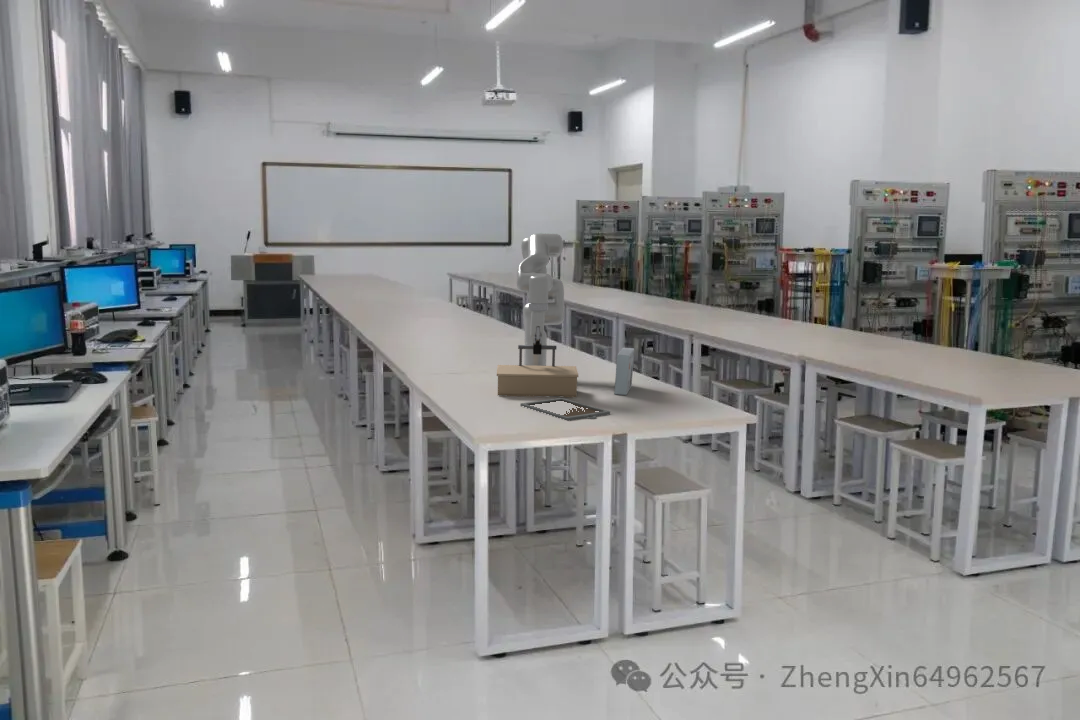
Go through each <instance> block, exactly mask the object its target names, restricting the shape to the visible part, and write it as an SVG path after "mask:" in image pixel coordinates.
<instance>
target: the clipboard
mask: <svg viewBox="0 0 1080 720" xmlns="http://www.w3.org/2000/svg"><path fill="white" fill-rule="evenodd" d="M556 401H564V402H567V403H571V404H573V405H575V406H578V407H580V408H581V407H583V408H584V410H585V412H584V410H583V411H582V409H580V408H577V407H576V408H577V411H576V409H574V408H572V410H573V412H572V410H570V409H569V410H570V413H569V412H568V413H569V414H568V413H567V411H566V414H567V415H566V414H564V415H560V414H556V413H553V412H550V411H547V410H543V409H540V408H537V407H534V406H530V405H535V404H542V403H550V402H556ZM522 406H524V407H523V408H525V407H527V408H526V409H528V408H530V409H529V410H531V409H533V410H532V411H534V410H536V411H535V412H538V411H539V412H538V413H541V412H543V413H542V414H544V413H546V414H545V415H547V414H549V415H548V416H550V415H552V416H551V417H554V416H555V417H554V418H557V417H558V418H557V419H560V418H561V420H563V419H564V421H567V422H569V420H570V421H575V420H576V419H577V420H582V419H583V420H584V419H585V420H596V419H597V418H598V417H601V415H603V416H607V414H609V415H611V411H610V410H607V409H603V408H599V407H597V406H592V405H589V404H586V403H581V402H578V401H575V400H571V399H568V398H565V397H555V398H549V399H543V400H536V401H528V402H522V403H521V402H520V407H522ZM586 408H588V409H586ZM578 411H579V412H578ZM595 411H599V412H595Z"/></svg>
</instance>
